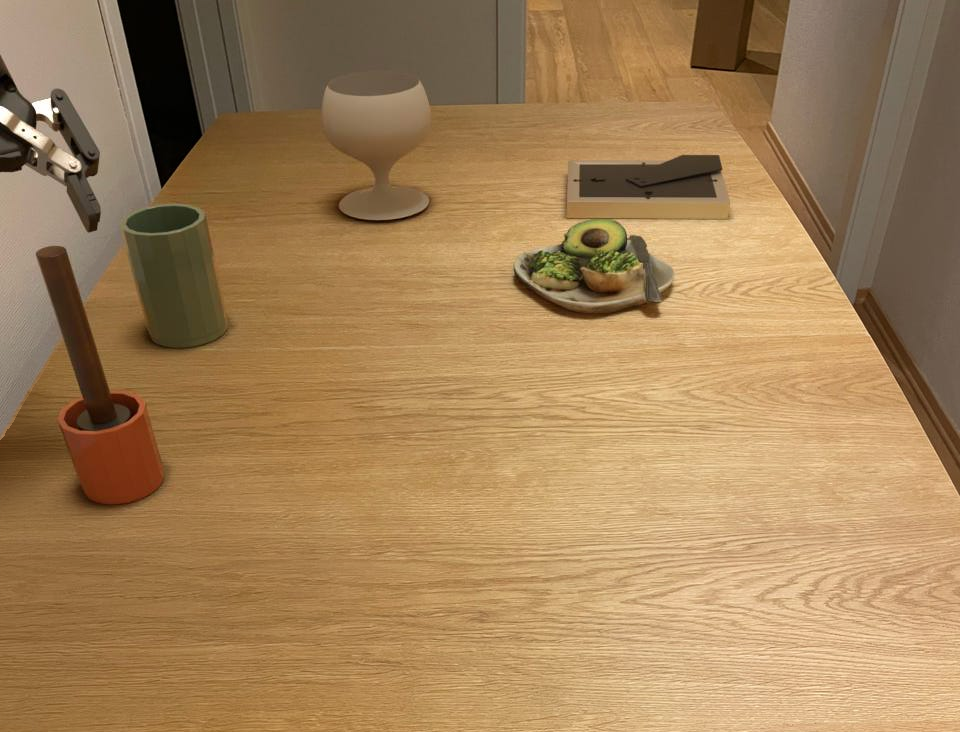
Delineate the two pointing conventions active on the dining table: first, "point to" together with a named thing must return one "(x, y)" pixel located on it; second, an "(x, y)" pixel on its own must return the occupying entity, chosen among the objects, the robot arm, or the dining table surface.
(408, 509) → the dining table surface
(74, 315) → the brush
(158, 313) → the sage green cup
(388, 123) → the chalice
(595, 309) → the avocado toast plate
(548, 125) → the dining table surface
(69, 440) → the pot
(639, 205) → the picture frame
